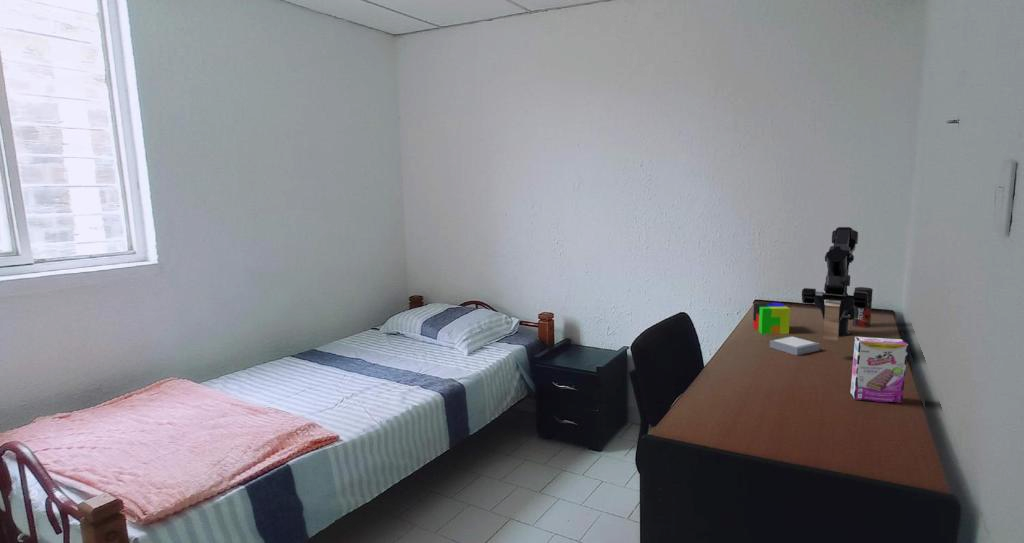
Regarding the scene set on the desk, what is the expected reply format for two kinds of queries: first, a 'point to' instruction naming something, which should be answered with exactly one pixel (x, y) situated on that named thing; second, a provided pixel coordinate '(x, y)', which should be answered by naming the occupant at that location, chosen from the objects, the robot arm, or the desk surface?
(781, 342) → the plinth
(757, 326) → the puzzle toy
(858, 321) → the deodorant
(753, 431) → the desk surface
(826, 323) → the beige rectangular block
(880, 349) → the candy bar box
